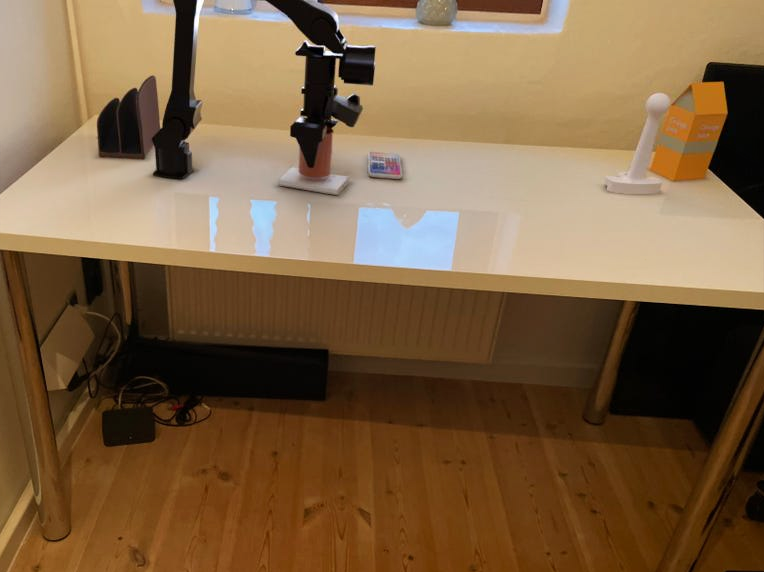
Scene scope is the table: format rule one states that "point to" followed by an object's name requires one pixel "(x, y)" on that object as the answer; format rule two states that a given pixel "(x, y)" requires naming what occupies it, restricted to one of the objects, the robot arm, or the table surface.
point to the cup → (319, 158)
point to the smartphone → (384, 165)
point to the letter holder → (129, 123)
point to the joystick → (642, 154)
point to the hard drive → (314, 182)
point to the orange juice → (691, 132)
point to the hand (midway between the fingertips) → (314, 162)
